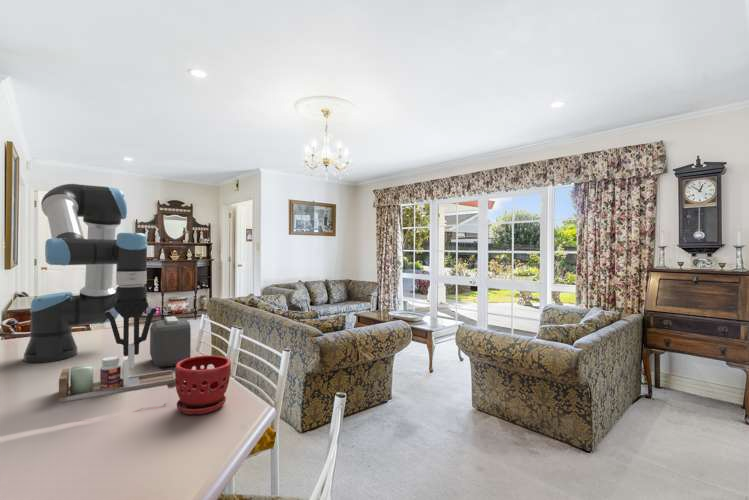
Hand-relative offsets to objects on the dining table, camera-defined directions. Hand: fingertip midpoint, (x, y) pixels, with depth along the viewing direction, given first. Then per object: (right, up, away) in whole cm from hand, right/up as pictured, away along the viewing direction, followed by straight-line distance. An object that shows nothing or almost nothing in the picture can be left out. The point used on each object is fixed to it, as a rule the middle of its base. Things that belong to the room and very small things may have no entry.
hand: (131, 366), depth 111 cm
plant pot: (+27, -7, -13) cm, 31 cm away
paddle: (0, -5, 0) cm, 5 cm away
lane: (-2, -6, -1) cm, 7 cm away
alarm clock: (-2, -7, +25) cm, 26 cm away
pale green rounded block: (-9, -5, -7) cm, 13 cm away
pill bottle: (-4, -6, -3) cm, 7 cm away
